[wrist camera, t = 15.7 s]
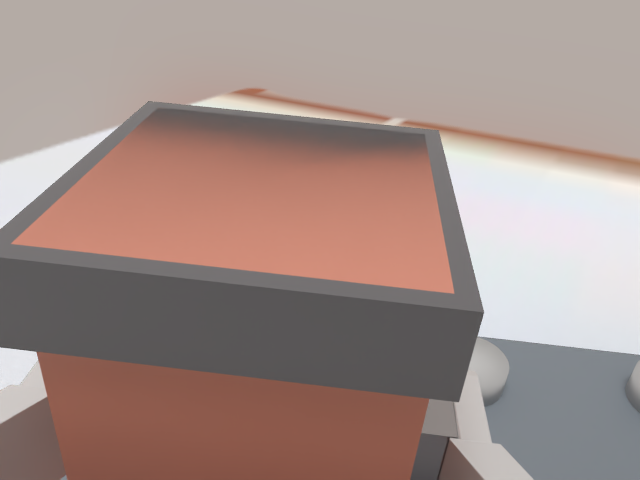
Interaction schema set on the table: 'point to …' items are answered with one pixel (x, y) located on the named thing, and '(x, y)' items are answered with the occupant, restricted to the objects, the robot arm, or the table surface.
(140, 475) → the block
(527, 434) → the switch board
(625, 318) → the table surface
